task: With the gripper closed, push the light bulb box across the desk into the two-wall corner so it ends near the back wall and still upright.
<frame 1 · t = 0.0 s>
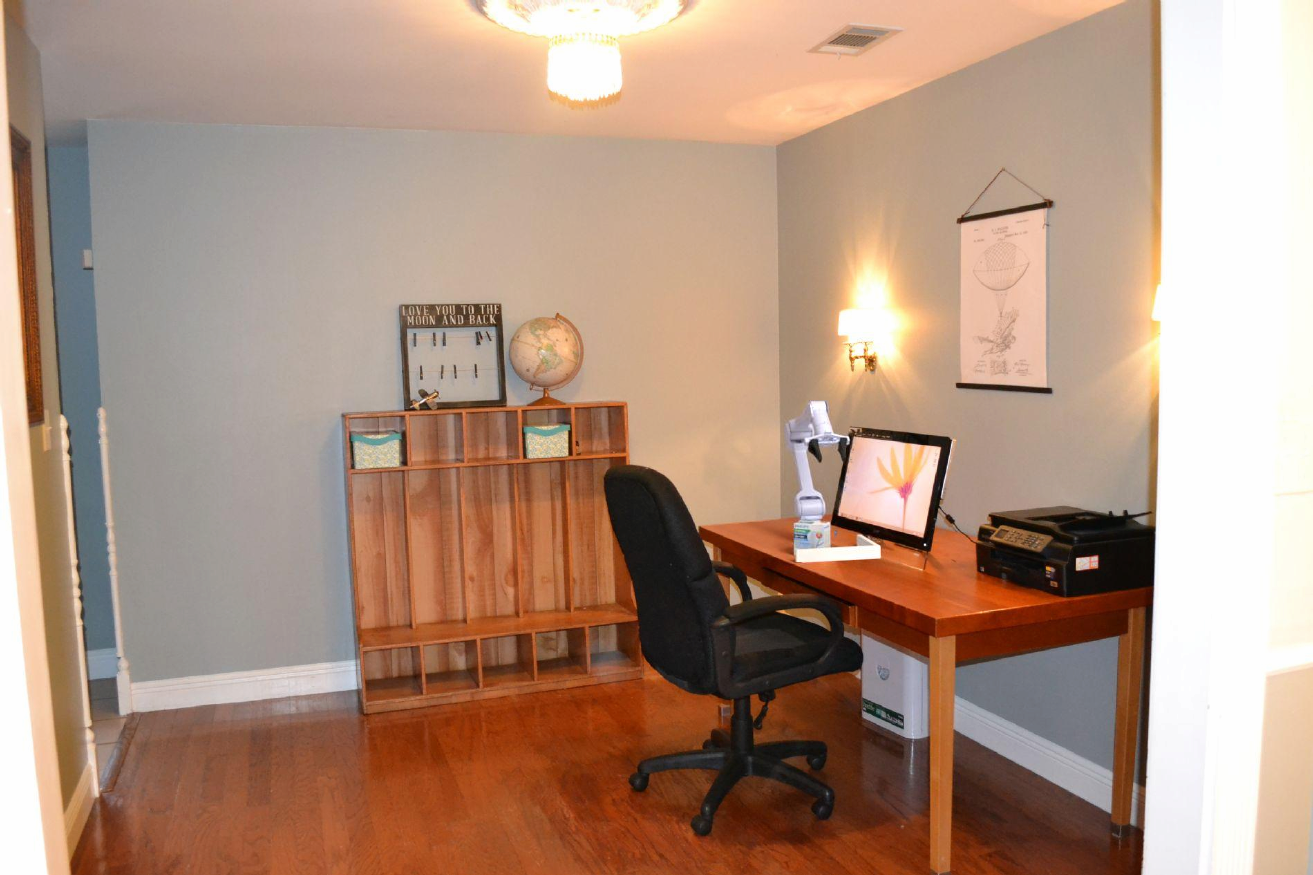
hand: (832, 460, 318), 32 cm above the table, tool tilted 50°, fingers open, 7 cm apart
corner walls: (824, 554, 331), on the table
light bulb box: (812, 555, 331), on the table
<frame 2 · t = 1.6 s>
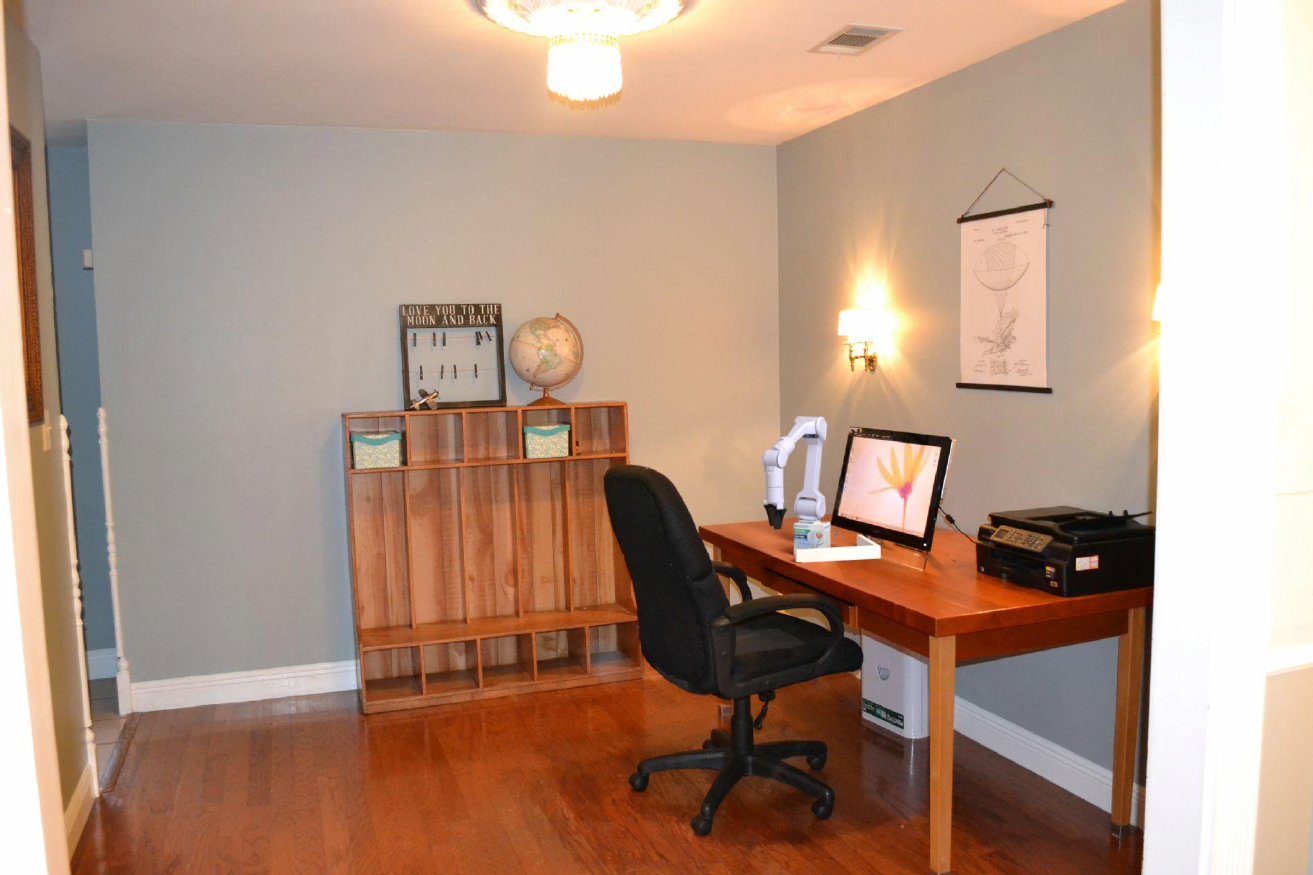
hand: (775, 527, 330), 9 cm above the table, tool pointing down, fingers open, 6 cm apart
nothing on the table moved.
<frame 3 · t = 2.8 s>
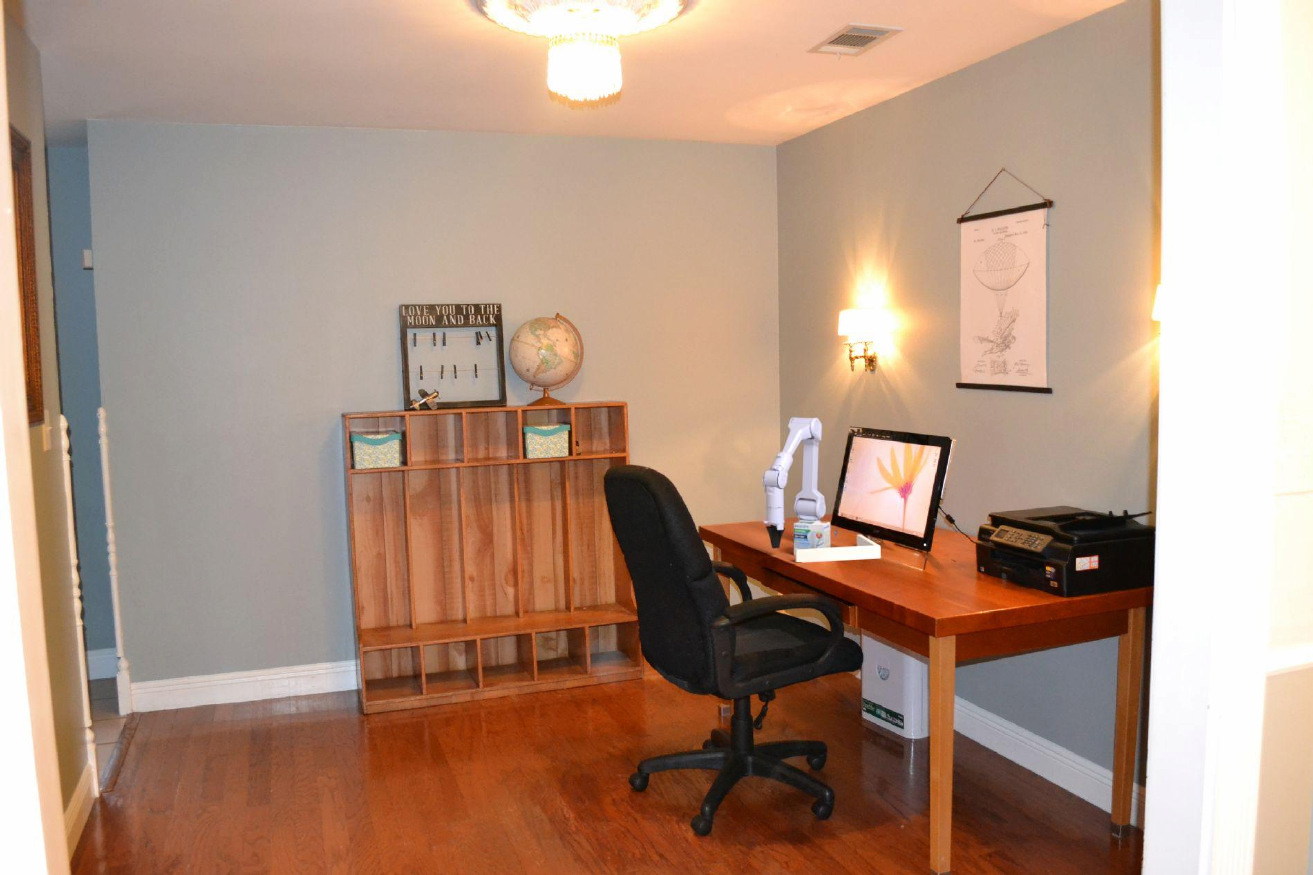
hand: (775, 547, 330), 3 cm above the table, tool pointing down, fingers closed
nothing on the table moved.
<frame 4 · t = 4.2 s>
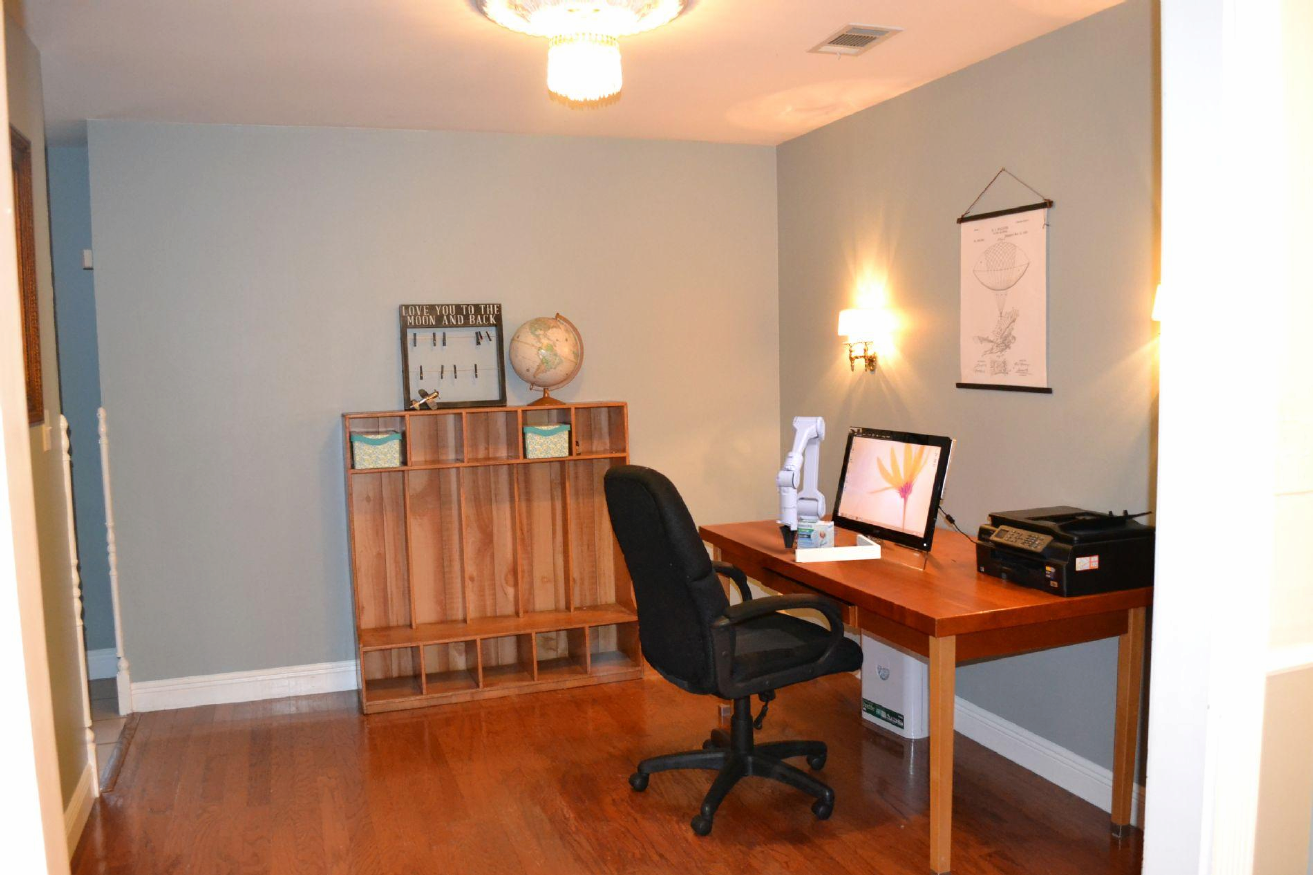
hand: (788, 548, 331), 2 cm above the table, tool pointing down, fingers closed
light bulb box: (815, 555, 331), on the table, touching gripper
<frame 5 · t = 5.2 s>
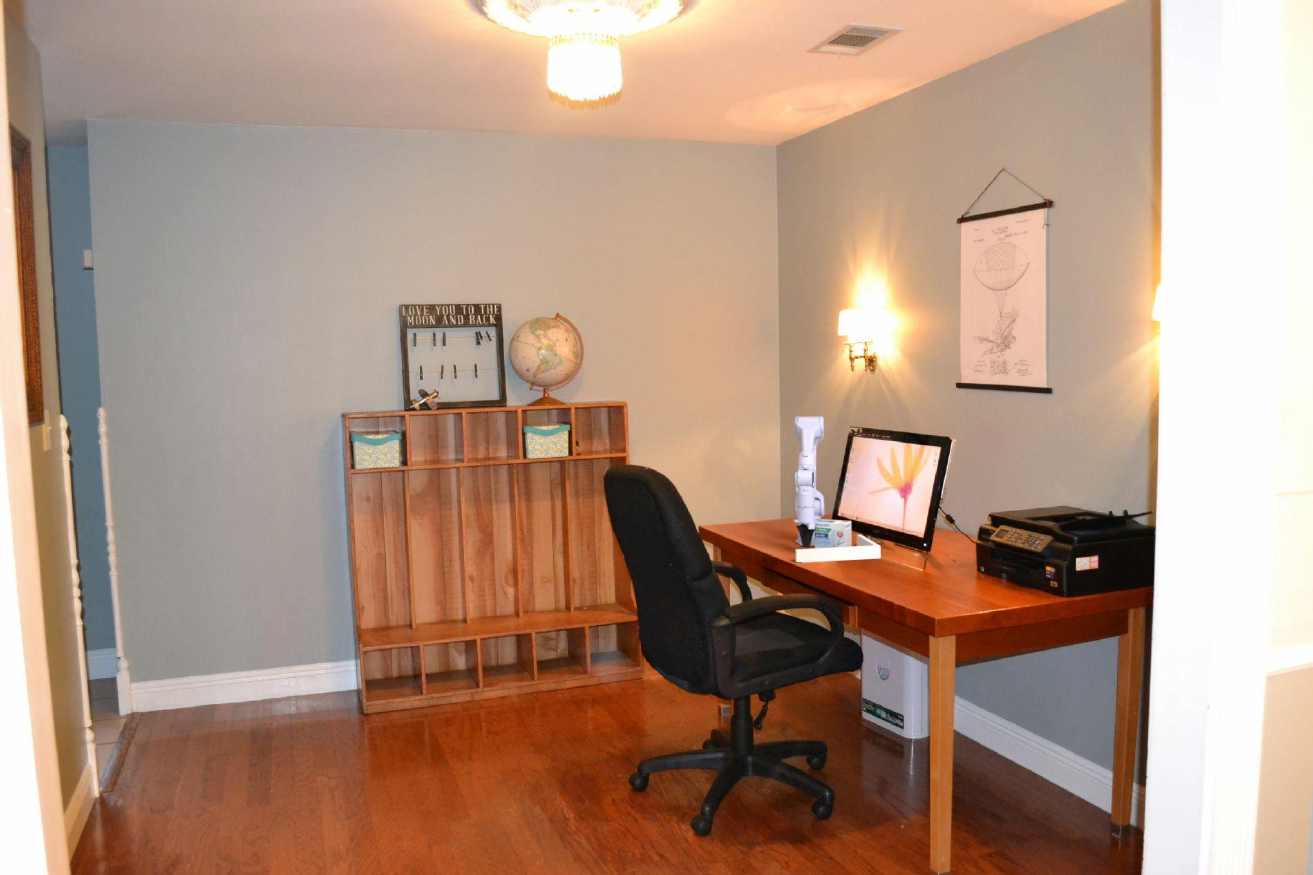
hand: (806, 547, 331), 2 cm above the table, tool pointing down, fingers closed
light bulb box: (833, 554, 332), on the table, touching gripper
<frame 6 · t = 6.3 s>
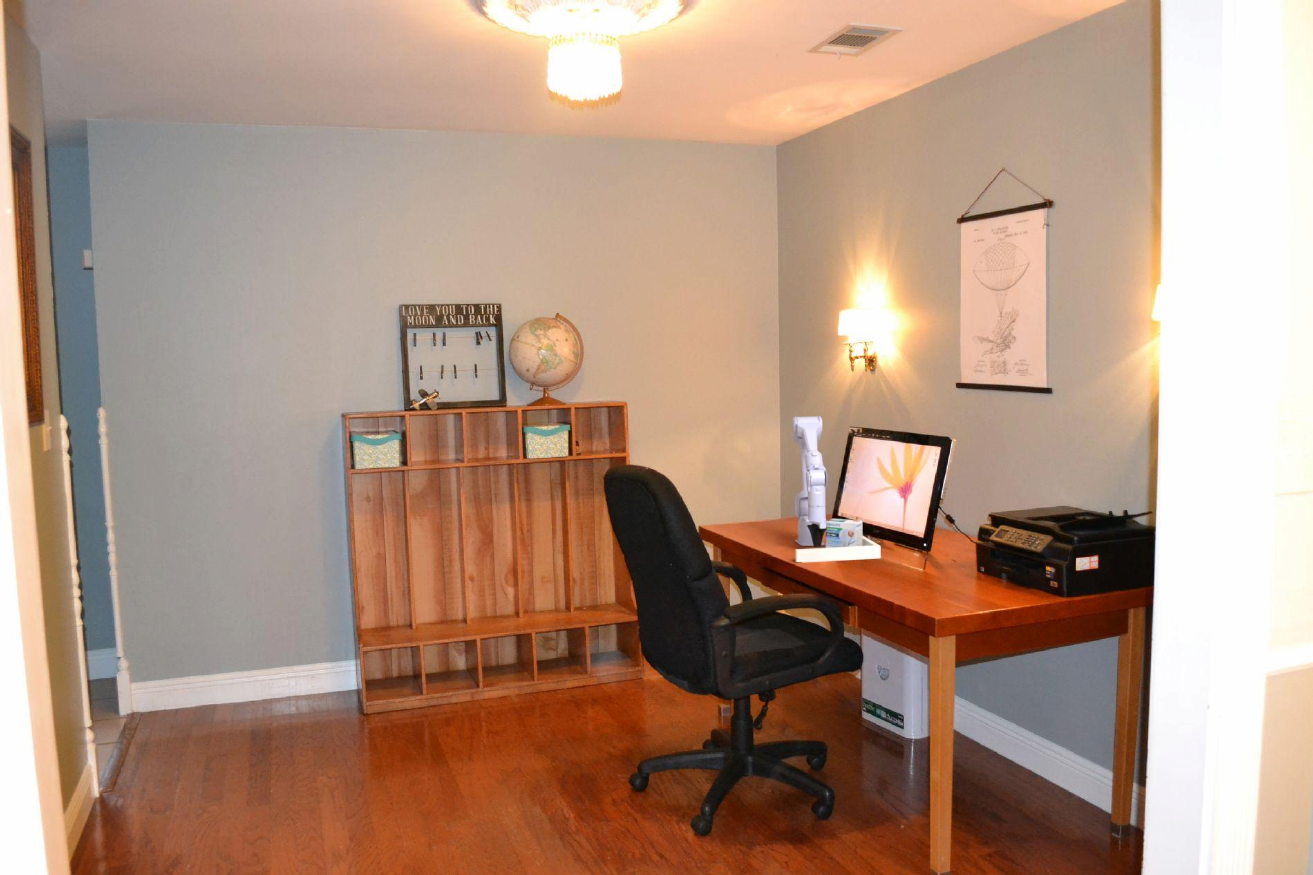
hand: (817, 546, 332), 2 cm above the table, tool pointing down, fingers closed
light bulb box: (844, 553, 332), on the table, touching gripper
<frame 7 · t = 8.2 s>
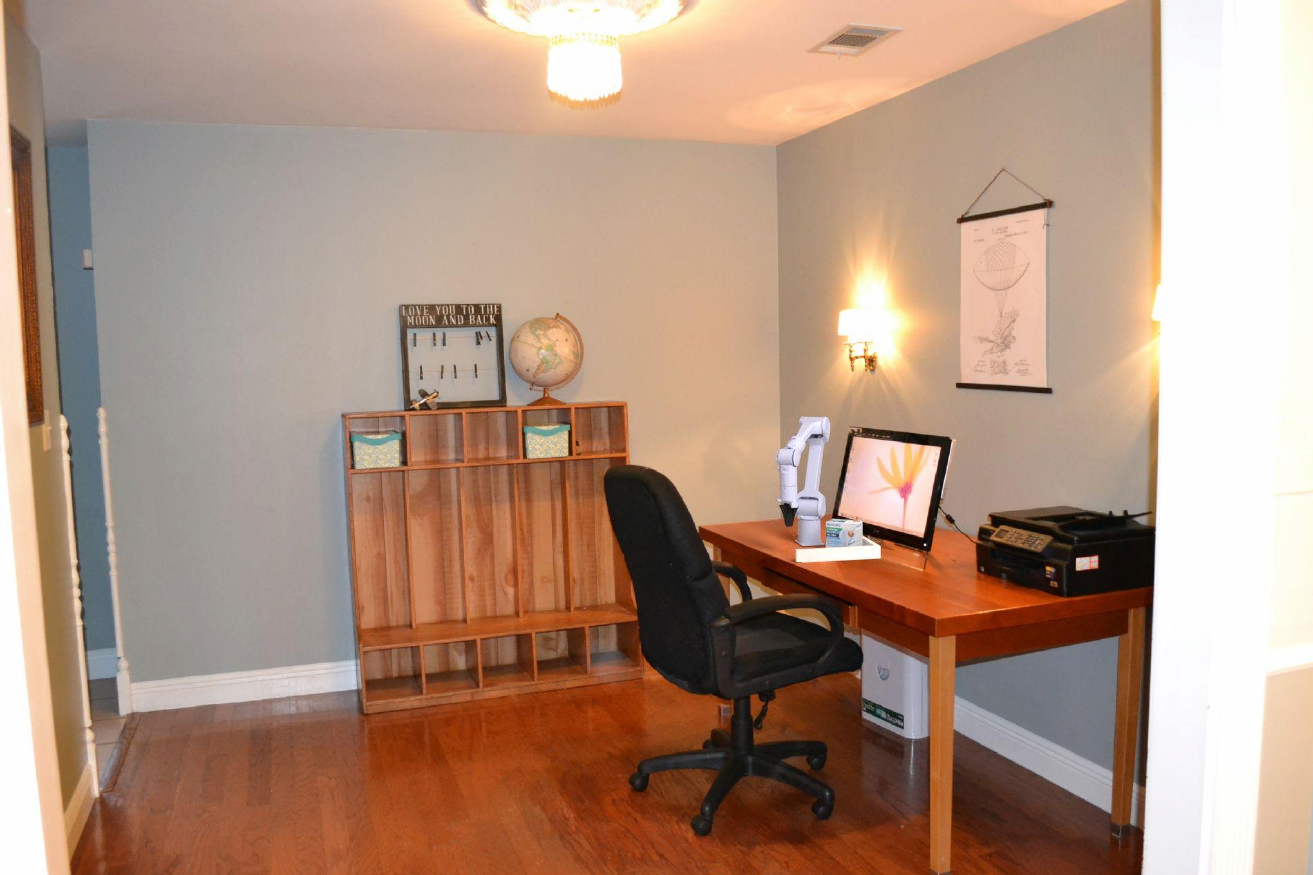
hand: (789, 526, 331), 9 cm above the table, tool pointing down, fingers closed
light bulb box: (844, 554, 332), on the table
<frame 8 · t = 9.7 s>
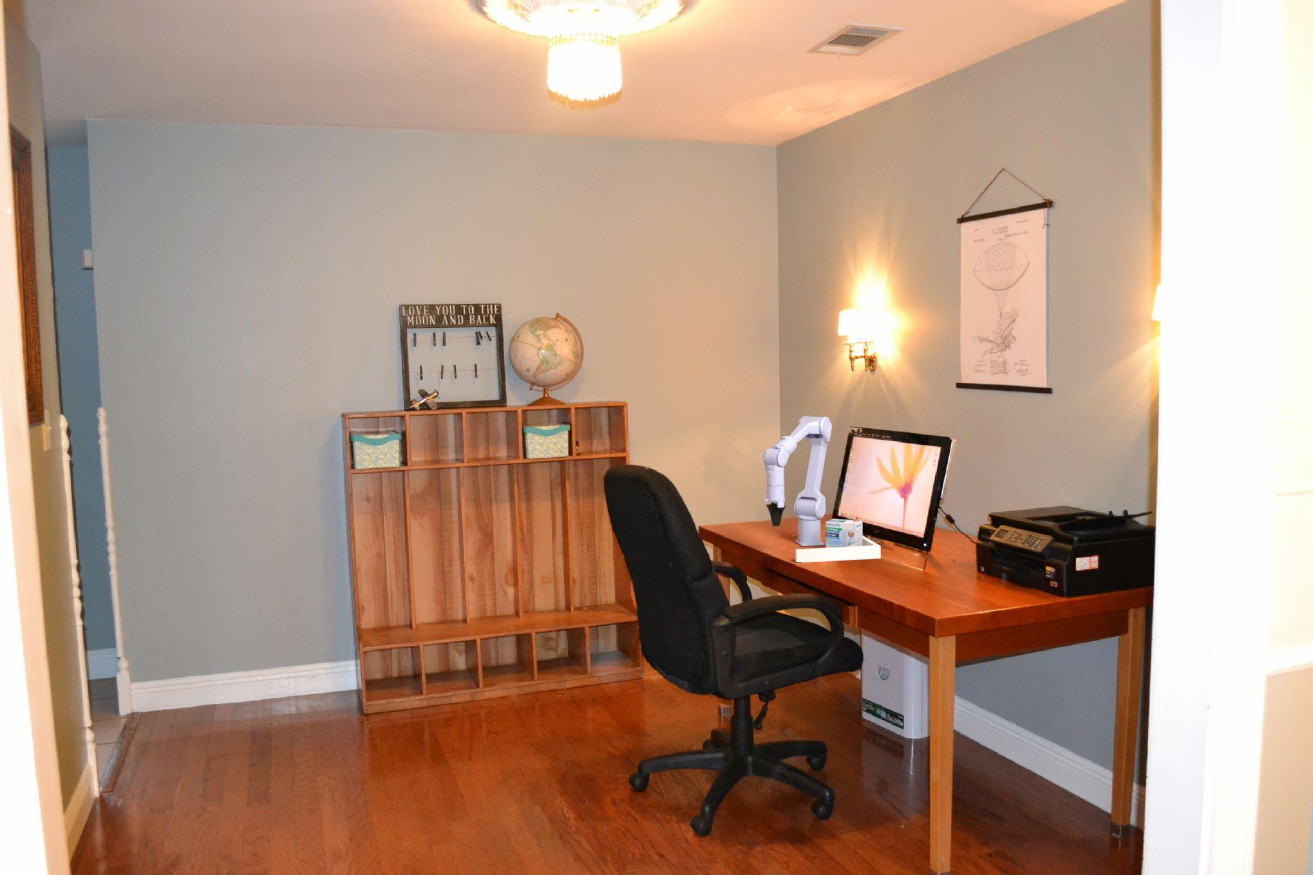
hand: (776, 525, 333), 9 cm above the table, tool pointing down, fingers closed
nothing on the table moved.
at the end: light bulb box inside the target area (0.3 cm from its centre), on the table; light bulb box tilted 0°; light bulb box moved 10.7 cm from its start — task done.
